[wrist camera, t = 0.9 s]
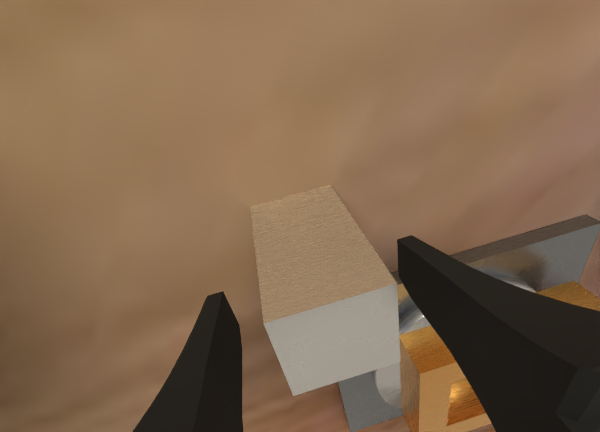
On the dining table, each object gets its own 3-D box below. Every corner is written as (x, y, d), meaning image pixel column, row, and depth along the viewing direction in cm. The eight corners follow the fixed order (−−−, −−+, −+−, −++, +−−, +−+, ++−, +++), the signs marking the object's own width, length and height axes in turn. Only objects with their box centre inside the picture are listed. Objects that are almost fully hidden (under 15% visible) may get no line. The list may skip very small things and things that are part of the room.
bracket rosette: (586, 214, 19) (673, 258, 16) (533, 358, 28) (581, 409, 24) (315, 295, 18) (338, 364, 14) (346, 420, 27) (366, 483, 23)
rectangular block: (330, 184, 15) (396, 283, 9) (340, 247, 17) (400, 361, 11) (250, 206, 14) (263, 323, 9) (270, 268, 17) (293, 396, 11)
